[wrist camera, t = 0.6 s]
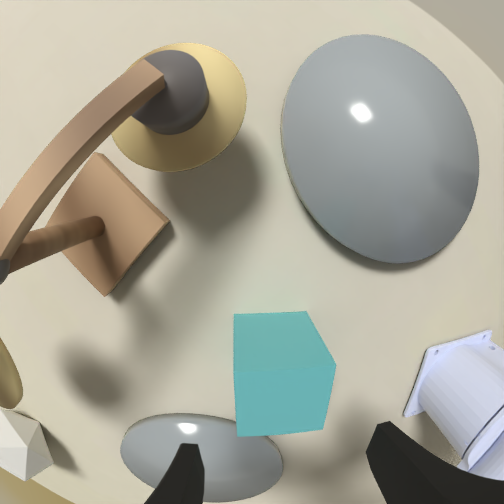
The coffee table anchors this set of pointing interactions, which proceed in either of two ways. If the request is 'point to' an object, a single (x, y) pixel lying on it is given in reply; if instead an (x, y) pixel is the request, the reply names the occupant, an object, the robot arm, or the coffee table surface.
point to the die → (22, 445)
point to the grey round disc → (203, 454)
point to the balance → (110, 178)
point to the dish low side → (380, 148)
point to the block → (280, 374)
